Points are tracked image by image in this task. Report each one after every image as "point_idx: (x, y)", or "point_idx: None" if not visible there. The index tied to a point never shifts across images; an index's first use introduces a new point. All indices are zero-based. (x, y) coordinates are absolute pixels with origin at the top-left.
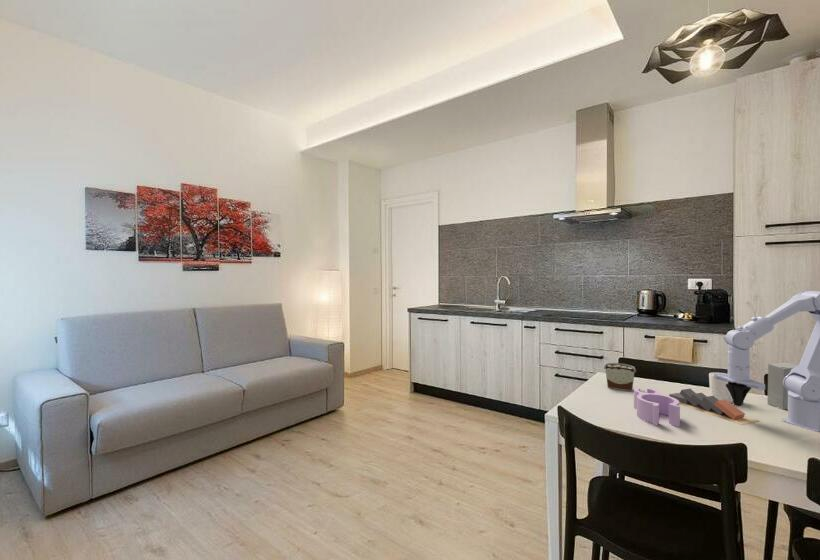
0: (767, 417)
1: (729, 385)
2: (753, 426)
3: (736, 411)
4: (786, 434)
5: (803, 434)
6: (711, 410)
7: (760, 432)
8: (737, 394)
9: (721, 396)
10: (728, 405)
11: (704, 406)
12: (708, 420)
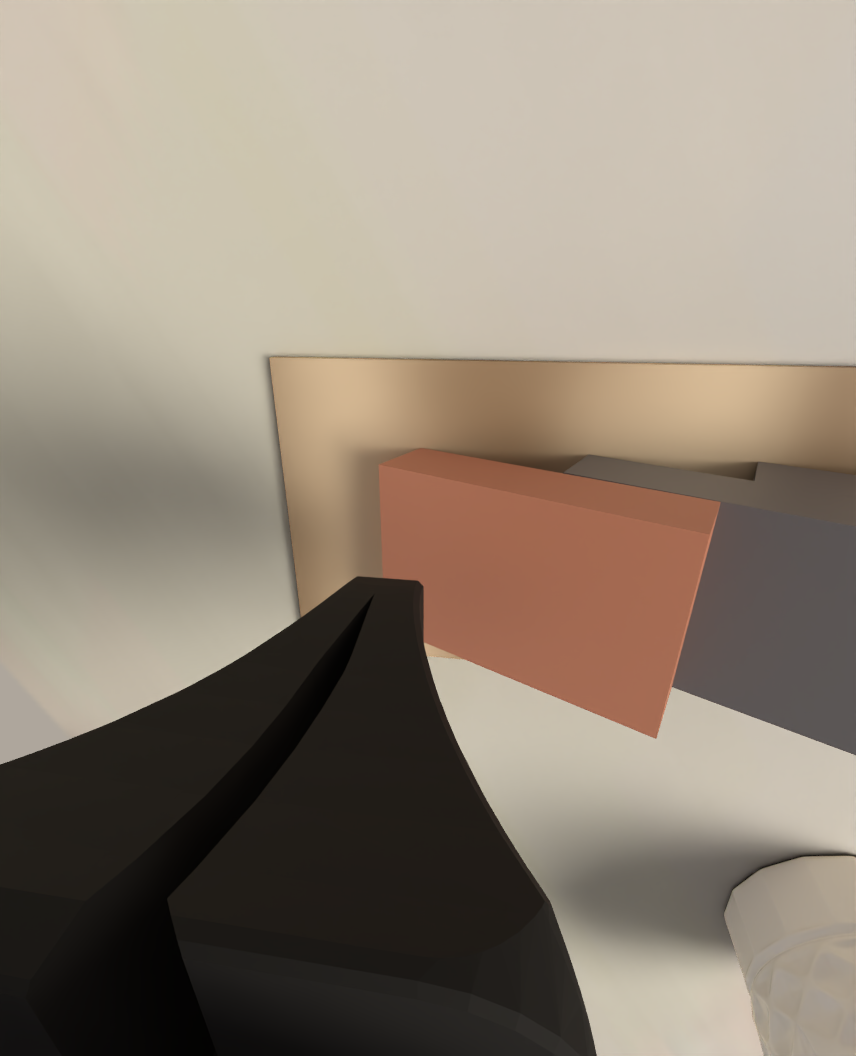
0: None
1: (295, 977)
2: (236, 462)
3: (432, 570)
4: (31, 523)
5: (29, 637)
6: None
7: (86, 342)
8: (231, 702)
9: (833, 936)
10: (544, 609)
11: (852, 481)
12: (576, 86)
